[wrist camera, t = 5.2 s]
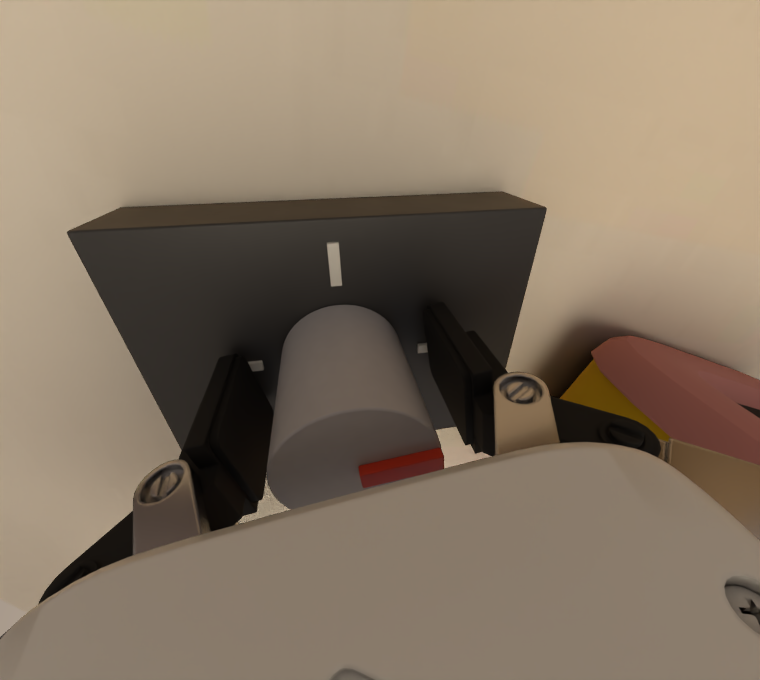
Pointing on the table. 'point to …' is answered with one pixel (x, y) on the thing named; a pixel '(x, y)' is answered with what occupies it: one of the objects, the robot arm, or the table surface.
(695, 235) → the table surface
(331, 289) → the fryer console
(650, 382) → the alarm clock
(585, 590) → the robot arm
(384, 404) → the timer dial
